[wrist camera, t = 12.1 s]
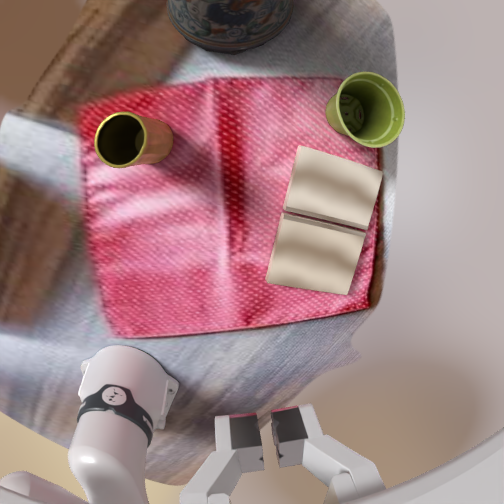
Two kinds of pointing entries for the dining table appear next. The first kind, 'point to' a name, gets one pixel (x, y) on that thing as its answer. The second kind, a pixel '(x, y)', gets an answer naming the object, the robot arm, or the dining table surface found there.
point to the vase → (132, 140)
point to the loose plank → (314, 255)
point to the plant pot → (367, 110)
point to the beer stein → (229, 22)
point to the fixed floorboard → (332, 188)
